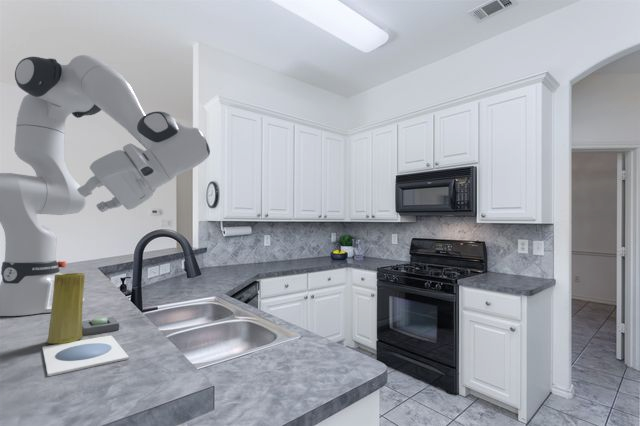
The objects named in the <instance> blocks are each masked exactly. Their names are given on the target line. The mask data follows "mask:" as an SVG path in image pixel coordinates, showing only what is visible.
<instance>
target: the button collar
mask: <svg viewBox="0 0 640 426" xmlns="http://www.w3.org/2000/svg"><path fill="white" fill-rule="evenodd" d="M107 318H108V320H107V324H100V325H93V326H91V325H92V319H90V320H82V335H83V336H88V335H95V334H101V333H107V332H115V331H119V330H120V322H119V321H117V319H115V318H114V317H113V316H112V317H107Z"/></svg>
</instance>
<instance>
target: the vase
mask: <svg viewBox="0 0 640 426" xmlns="http://www.w3.org/2000/svg"><path fill="white" fill-rule="evenodd" d="M84 290H85V273H84V272H72V273H70V272H69V273H61V274H56V275H55V279H54V291H53V300H52V310H51V312H50V319H49V320H50V321H49V326H48V327H49V328H48V334H47V335H48V336H47V339H46V342H47V344H49V345H56V344H62V343H69V342H74V341H80V340H81V339H83V336H84V335H83V333H82V321H83V307H84V306H83V305H84V304H83V303H84V301H83V298H84Z"/></svg>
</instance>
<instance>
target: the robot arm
mask: <svg viewBox="0 0 640 426" xmlns="http://www.w3.org/2000/svg"><path fill="white" fill-rule="evenodd" d="M14 80H15V82H16V85H17V87H18V88H19V89H21V90H22V91H24V92H25V93H27V94H26V95H25V96H24V97H23V98H22V99H21V100H22V101H21V103H20V106H19V110H18V112H17V117H16V124H15V135H14V138H15V139H14V149H13V150H14V153H15V155H16V156H17V157H18V159H20V160H21V161H23V162H24V163H26V164H27V165H29V166H30V167H31V168H32V170H33V171H34V173H35V176H34V175H27V174H20V173H11V172H0V225H1V227H2V230H3V232H4V237H5V241H4V242H5V249H4V250H5V251H4V253H5V254H4V261H3V262H2V264H1V270H0V275H1V278H2V279H1V281H0V317H16V316H29V315H38V314H46V313H51V310H52V300H53V291H54V279H55V275H56V274H62V273H61V272H60V268H62V269H63V268H64V269H65V268H66V267H67V265H68V263H67V261H65V260H63V261H61V260H59V261H57V260H56V257H57V256H56V255H57V245H58V237H57V235H56V234H55V232H54V231H53V230H52V229H50V228H49V227H48V228H47V227H45V226H43V225H41V224H40V222H39V220H38V218H37V215H49V216H50V215H52V216H53V215H55V216H67V215H72V214H73V215H74V214H78V213H80V212H81V211H83V210H84V208H85V207H86V205H87V201H88V196H90V195H92V194H93V191H94V190H96V188H99V189H100V188H101V187H103V186H104V187H105V188H106V189H107V190H108V191H109V192H110V194H111V195H112V196H114V197H112V198H111V199H110V200H107V201H101V202H100V201H99V203H97V204H96V208H97V210H99V211H100V212H101V213H104V212H106V211H108V210H112V209H116V208H120V207H121V206H123V207H124V208H125V209H127V210H129V211H130V210H132V209H133V210H134V209H135V208H136V207H138V206H141V204H143V203H144V202H146V201H147V200H149V199H150V198H151V197H152V196H153V194H154V193H155V191H156V189H158V188H159V187H161V186H163V185H166V183H169V182H171V181H172V180H173V179H175V178H176V176H178V175H180V174H184V173H187V172H189V171H190V170H192V169H194V168H195V167H197V166H199V165H201V164H202V163H203V162H204V161H206V159H208V157H209V156H210V154H211V149H210V146H209V143H208V141H207V138H206V136H205V134H204V133H203V131H202V130H201V129H200V128H198V127H191V126H188V125H186V124H184V123H182V122H179V121H178V120H177V119H175V118H174V117H173V116H172V115H171V114H169V113H168V112H164V111H161V110H160V111H153V112H149V113H146V114H145V111H144V109H143V108H142V106H141V103H140V102H139V99H138V96H137V95H136V93H135V92H134V90H133V88H132V86H131V85H130V83H129V82H128V81H127V80H126V79H125V77H124V76H123V75H122V74H121V73H119V72H118V71H117V70H115V69H114V68H113V67H112V66H110V65H109V64H107V63H106V62H105V61H102V60H100V59H98V58H96V57H94V56H91V55H85V54H81V55H77V56H75V57H73V58H72V59H70V61H69V63H68V64H61V63H59V62H58V61H57V59H56V58H44V57H39V56H28V57H27V56H26V57H25V58H23V59H21V60H20V61H19V62H18V63H17V65H16V67H15V70H14ZM101 111H103V112H104V113H105V114H106V115H108V116H109V117H110V118H111V119H113V120H114V121H115V122H116V123H117V124H119V125H120V126H121V127H122V128H124V130H126V131H127V132H128V133H129V134H130V135H131V136H133V137H134V138H135V139H136V141H138V143H140V144H141V145H142V146H143V147H144V148H145V149H146V150H144V149H142V148H139V147H138V146H136V145H135V144H133V143H127V144H125V145H124V146H123V147H122V149H118V150H114V151H111V152H110V153H107V154H105V155H104V156H102V157H100V158H97V159H96V160H94V161H93V162H92V163H91V164H90V166H89V169H90V171H91V172H92V174H93V176H91V177H90V178H89V179H88V180H87V181H86V182H85V184H83V185H81V184H79V182H78V181H77V180H75V178H74V177H73V176H72V174H71V173H70V171H69V169H68V166H67V164H66V160H65V135H66V120H67V118H68V117H69V115H70V114H72V116H73V117H75V118H77V119H79V118H83V117H85V116H93V115H96V114H98V113H100V112H101ZM83 302H86V301H85V297H83Z"/></svg>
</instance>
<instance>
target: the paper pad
mask: <svg viewBox="0 0 640 426" xmlns="http://www.w3.org/2000/svg"><path fill="white" fill-rule="evenodd" d="M41 350H42V354H43V360H44V364H45V370H46V375H47V377H52V376H56V375H60V374H66V373H70V372H75V371H79V370H86V369H88V368H89V369H90V368H93V367H94V368H95V367H97V366H99V367H100V366H103V365H107V364H112V363H113V364H114V363H116V362H121V361H126V360H129V359H130V356H129V355H128V353H126V351H125V350H124V349H123V348H122V347H121V345H120V344H119V342H118V341H117V340H116V339H115V338H114V337H113V335H105V336H100V337H94V338H89V339H88V338H87V339H82V340H81V339H79V340H77V341H73V342H69V343H62V344H49V345H45V346H42V349H41Z"/></svg>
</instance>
